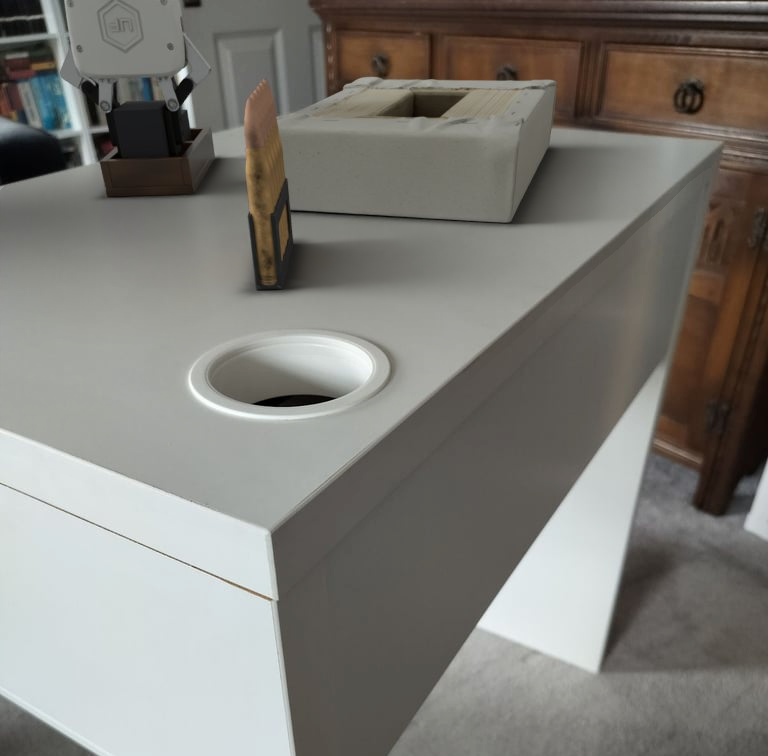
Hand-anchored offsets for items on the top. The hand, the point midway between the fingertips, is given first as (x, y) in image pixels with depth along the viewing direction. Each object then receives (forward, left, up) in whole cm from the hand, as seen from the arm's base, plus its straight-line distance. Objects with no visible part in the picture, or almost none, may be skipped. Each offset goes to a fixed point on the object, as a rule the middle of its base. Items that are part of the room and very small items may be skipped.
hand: (150, 151), depth 79 cm
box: (+28, 0, -3) cm, 28 cm away
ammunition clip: (+14, -27, -3) cm, 31 cm away
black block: (0, 0, 0) cm, 0 cm away
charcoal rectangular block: (0, +8, -2) cm, 8 cm away
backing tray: (0, +4, -3) cm, 5 cm away
